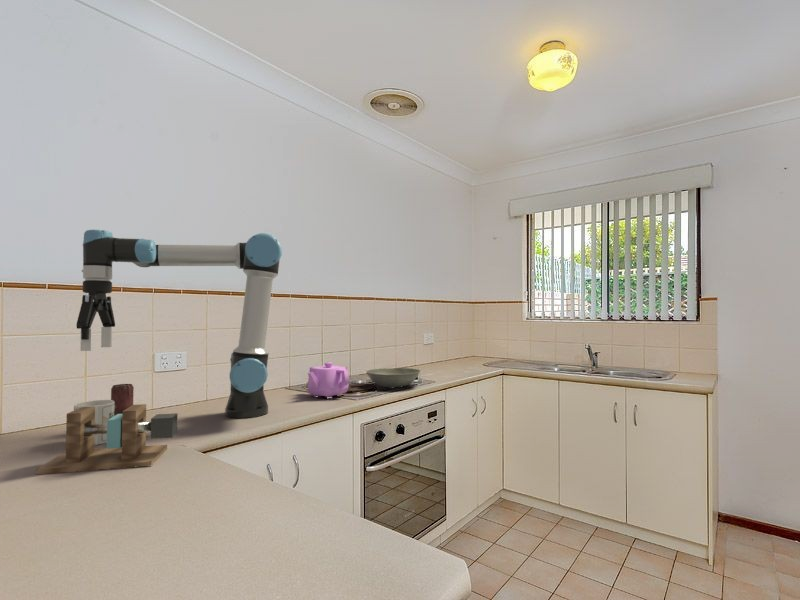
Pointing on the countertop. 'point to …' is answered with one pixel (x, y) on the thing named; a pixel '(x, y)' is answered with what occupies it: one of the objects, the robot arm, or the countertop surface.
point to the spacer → (114, 432)
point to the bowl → (393, 376)
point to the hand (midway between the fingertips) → (96, 349)
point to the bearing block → (88, 458)
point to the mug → (99, 415)
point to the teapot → (328, 380)
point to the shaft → (145, 426)
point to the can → (122, 397)
